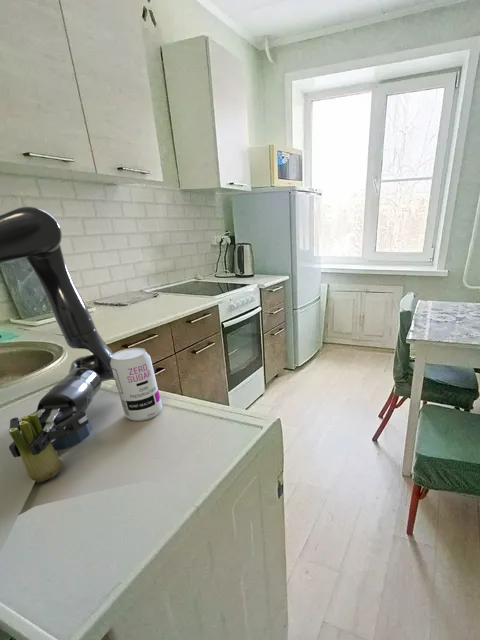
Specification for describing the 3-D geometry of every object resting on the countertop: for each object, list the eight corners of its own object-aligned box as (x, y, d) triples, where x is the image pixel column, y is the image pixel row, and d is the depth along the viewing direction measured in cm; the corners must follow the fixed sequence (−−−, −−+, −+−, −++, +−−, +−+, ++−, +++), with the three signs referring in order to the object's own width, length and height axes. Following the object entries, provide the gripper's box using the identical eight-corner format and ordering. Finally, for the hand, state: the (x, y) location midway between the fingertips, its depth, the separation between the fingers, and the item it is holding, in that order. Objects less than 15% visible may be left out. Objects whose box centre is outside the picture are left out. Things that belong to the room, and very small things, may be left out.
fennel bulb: (38, 490, 60) (10, 431, 55) (23, 481, 62) (-5, 424, 57) (71, 469, 64) (48, 413, 59) (56, 462, 67) (32, 407, 61)
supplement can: (142, 402, 88) (127, 345, 81) (169, 406, 85) (156, 348, 78) (118, 419, 81) (99, 358, 74) (147, 424, 78) (130, 362, 71)
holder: (29, 455, 70) (24, 443, 68) (45, 429, 78) (40, 417, 77) (86, 444, 72) (81, 432, 71) (94, 420, 81) (91, 408, 80)
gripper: (25, 387, 70) (-33, 437, 55) (98, 380, 72) (60, 427, 56) (39, 419, 74) (-13, 475, 58) (108, 412, 75) (75, 464, 60)
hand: (24, 451), depth 57 cm, fingers closed on fennel bulb, 2 cm apart
